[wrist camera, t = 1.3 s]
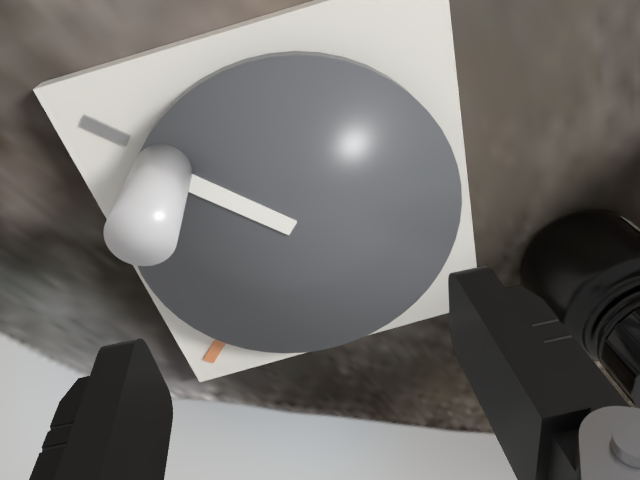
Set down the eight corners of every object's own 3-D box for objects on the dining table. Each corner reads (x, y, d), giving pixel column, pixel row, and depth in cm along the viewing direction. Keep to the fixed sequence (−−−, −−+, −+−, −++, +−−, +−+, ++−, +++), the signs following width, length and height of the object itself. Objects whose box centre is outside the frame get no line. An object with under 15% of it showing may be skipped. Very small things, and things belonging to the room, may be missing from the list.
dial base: (435, -37, 27) (446, -35, 25) (473, 291, 39) (481, 305, 38) (42, 81, 27) (31, 90, 26) (201, 367, 40) (199, 384, 38)
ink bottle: (611, 301, 41) (729, 422, 31) (508, 313, 41) (595, 440, 31) (647, 195, 36) (802, 298, 26) (530, 206, 36) (643, 317, 25)
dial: (516, 154, 31) (598, 222, 24) (347, 368, 39) (369, 468, 32) (217, -28, 24) (205, -10, 17) (84, 279, 32) (37, 381, 25)
